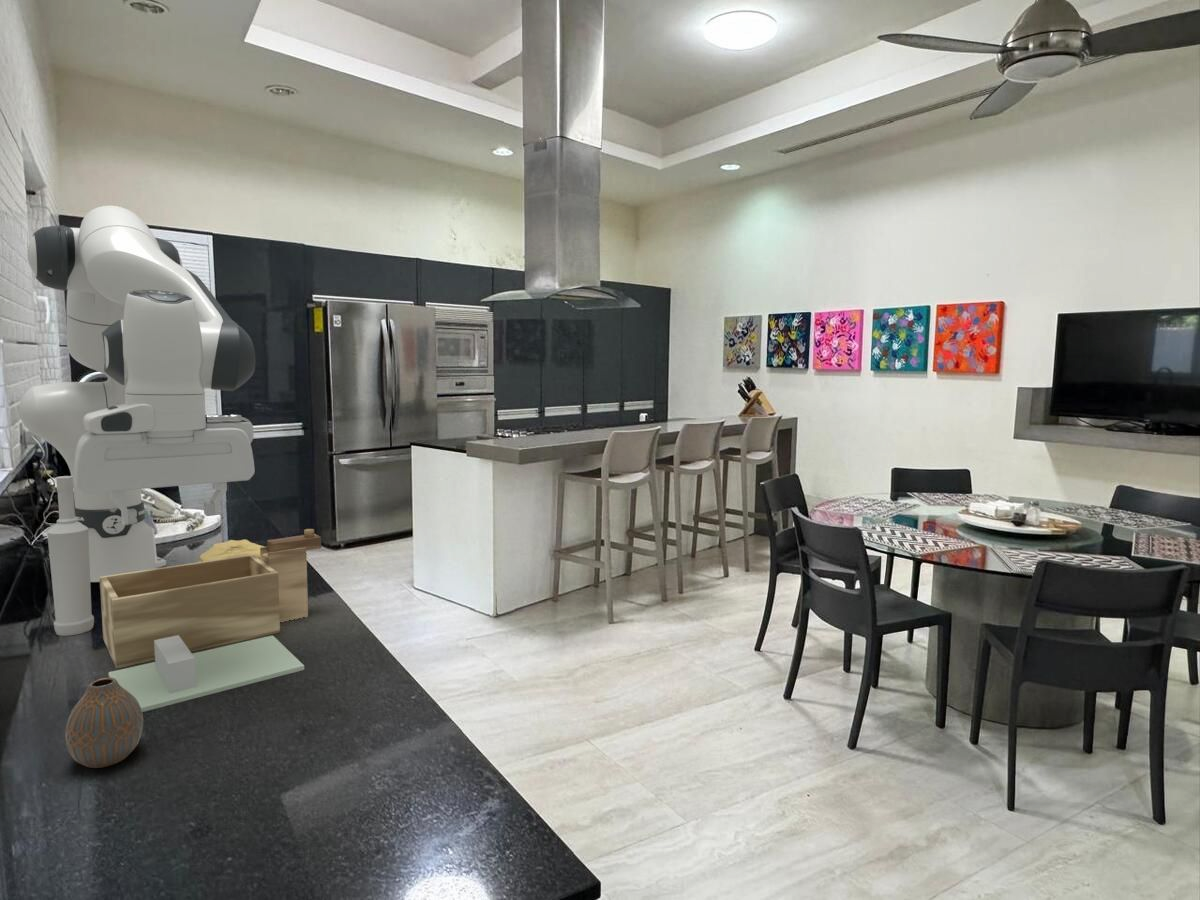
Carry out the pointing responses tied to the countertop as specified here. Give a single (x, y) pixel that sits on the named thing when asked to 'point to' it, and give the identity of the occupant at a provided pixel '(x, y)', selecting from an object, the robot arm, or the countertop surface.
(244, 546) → the sculpture
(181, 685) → the lid
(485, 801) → the countertop surface
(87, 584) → the bottle
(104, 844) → the countertop surface
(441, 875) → the countertop surface
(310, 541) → the wooden knobbed block
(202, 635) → the toolbox
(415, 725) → the countertop surface
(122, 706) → the vase
